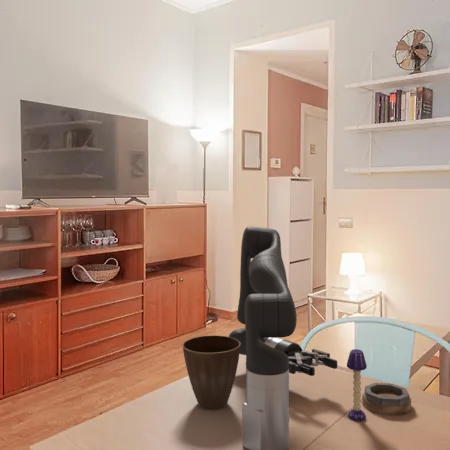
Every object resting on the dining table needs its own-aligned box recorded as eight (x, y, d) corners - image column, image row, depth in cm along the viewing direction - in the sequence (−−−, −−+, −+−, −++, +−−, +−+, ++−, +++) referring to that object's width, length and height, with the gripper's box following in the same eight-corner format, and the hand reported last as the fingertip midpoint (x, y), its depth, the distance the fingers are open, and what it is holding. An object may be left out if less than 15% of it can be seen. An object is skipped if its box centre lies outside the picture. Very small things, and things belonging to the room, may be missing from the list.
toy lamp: (366, 423, 121) (367, 354, 120) (346, 421, 122) (347, 353, 121) (365, 414, 126) (366, 348, 125) (345, 412, 127) (346, 347, 126)
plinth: (392, 419, 123) (392, 404, 122) (352, 403, 132) (352, 389, 132) (420, 406, 130) (421, 392, 130) (381, 392, 139) (381, 378, 139)
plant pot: (206, 422, 122) (206, 356, 121) (172, 402, 134) (171, 342, 132) (252, 405, 132) (252, 344, 130) (216, 388, 143) (216, 332, 142)
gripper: (262, 344, 140) (306, 359, 127) (299, 335, 148) (343, 348, 135) (262, 371, 140) (305, 389, 127) (299, 360, 149) (343, 376, 136)
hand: (325, 368), depth 131 cm, fingers open, 8 cm apart
